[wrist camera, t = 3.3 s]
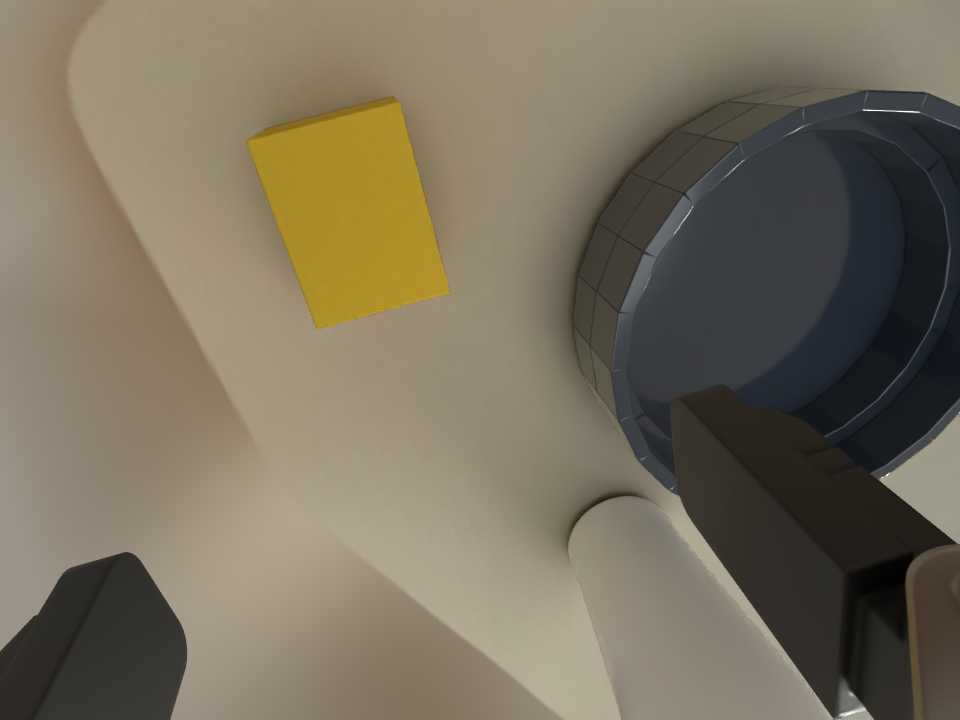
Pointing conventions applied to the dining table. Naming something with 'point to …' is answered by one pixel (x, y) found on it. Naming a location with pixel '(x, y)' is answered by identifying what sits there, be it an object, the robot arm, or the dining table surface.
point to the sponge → (351, 210)
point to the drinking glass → (675, 625)
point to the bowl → (785, 273)
